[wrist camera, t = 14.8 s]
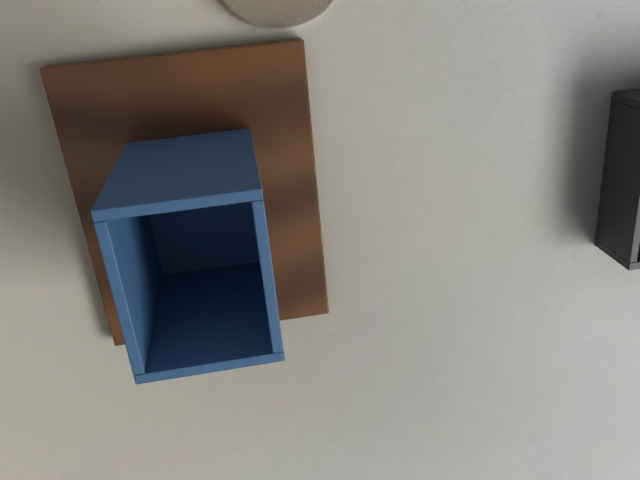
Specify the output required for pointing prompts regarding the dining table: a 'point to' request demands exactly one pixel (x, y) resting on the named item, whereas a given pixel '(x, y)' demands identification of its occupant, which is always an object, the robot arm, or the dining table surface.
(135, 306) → the blue bin
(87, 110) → the brown wooden flat board
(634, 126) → the charcoal bin
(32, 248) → the dining table surface
